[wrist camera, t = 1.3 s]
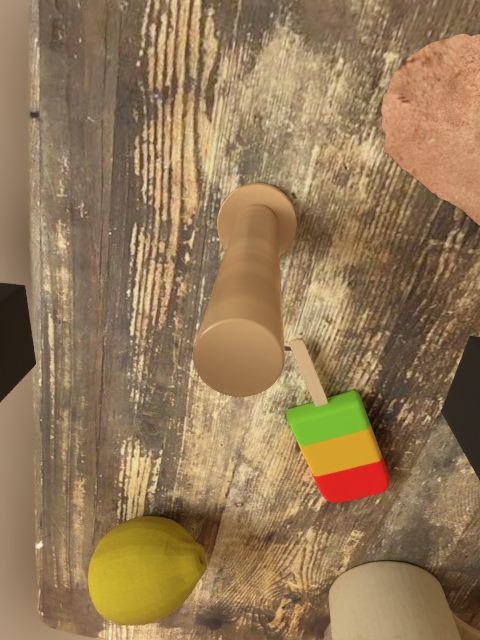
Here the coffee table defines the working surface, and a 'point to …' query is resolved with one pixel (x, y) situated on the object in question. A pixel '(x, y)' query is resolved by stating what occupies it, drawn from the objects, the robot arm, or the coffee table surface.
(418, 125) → the clay slab
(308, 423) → the popsicle
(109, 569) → the lemon
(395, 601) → the sugar bowl
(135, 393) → the coffee table surface
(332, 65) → the coffee table surface
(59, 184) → the coffee table surface
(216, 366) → the stick
